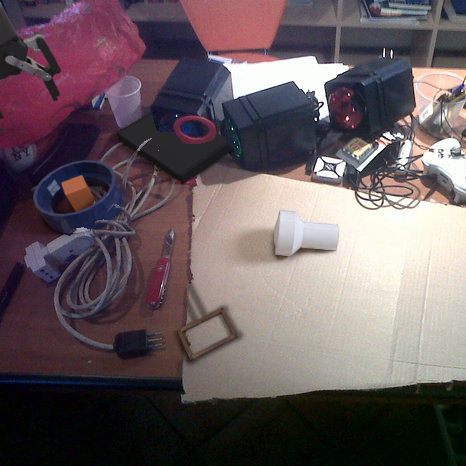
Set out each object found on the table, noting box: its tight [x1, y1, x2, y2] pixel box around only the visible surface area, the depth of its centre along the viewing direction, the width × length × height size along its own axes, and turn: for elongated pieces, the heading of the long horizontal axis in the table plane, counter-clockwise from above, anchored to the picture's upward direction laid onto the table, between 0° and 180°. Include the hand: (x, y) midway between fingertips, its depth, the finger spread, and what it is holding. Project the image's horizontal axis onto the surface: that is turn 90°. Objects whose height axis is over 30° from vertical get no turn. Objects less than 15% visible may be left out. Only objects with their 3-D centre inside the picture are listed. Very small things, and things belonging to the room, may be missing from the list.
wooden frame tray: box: [176, 306, 239, 362], centre depth 80 cm, size 8×17×2 cm, turn 30°
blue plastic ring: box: [32, 159, 125, 235], centre depth 96 cm, size 15×15×6 cm
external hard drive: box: [116, 111, 234, 185], centre depth 108 cm, size 14×23×3 cm, turn 49°
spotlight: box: [273, 209, 340, 257], centre depth 86 cm, size 8×11×8 cm
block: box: [61, 175, 96, 212], centre depth 95 cm, size 4×4×6 cm
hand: (28, 107), depth 79 cm, fingers open, 8 cm apart
